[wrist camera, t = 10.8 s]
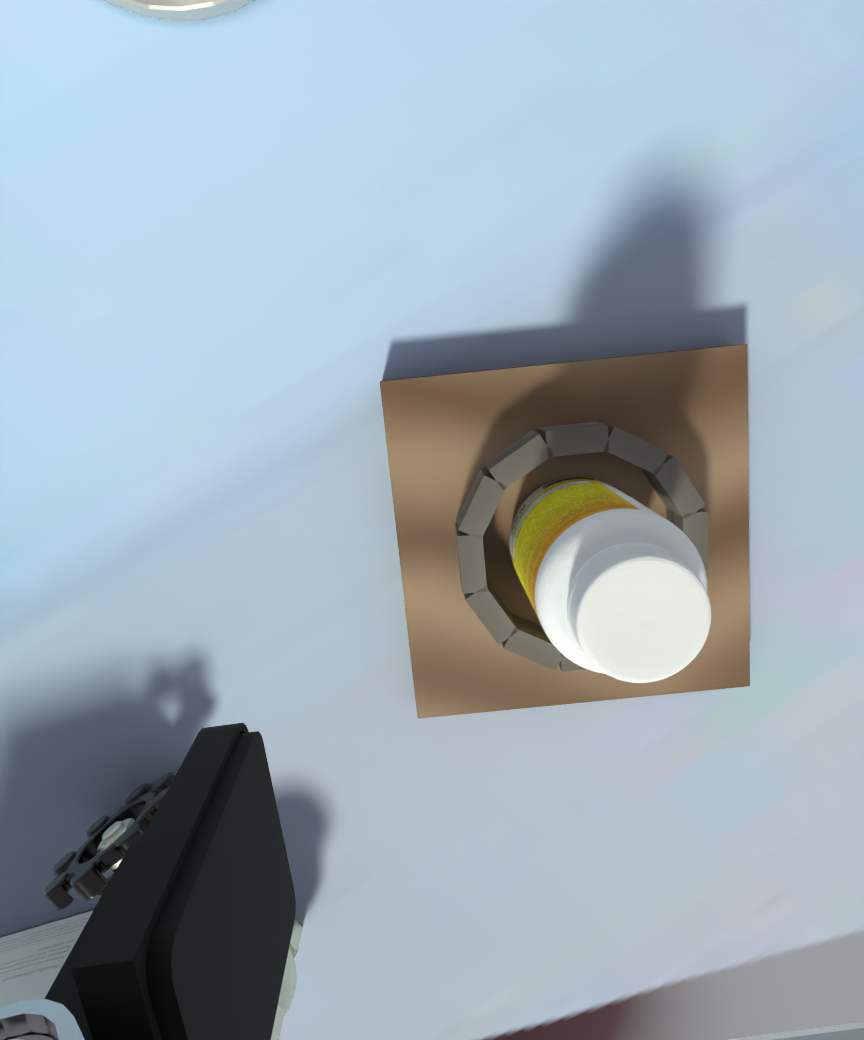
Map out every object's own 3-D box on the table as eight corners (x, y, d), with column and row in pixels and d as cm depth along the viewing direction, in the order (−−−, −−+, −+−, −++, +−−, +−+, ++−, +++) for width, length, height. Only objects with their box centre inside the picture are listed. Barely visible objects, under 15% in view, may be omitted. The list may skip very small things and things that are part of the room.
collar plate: (382, 381, 31) (376, 382, 27) (731, 345, 31) (770, 342, 27) (418, 703, 34) (417, 741, 30) (735, 672, 34) (771, 706, 30)
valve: (342, 924, 36) (193, 749, 34) (325, 1045, 30) (140, 838, 28) (239, 989, 37) (87, 821, 35) (201, 1119, 31) (11, 923, 29)
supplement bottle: (484, 567, 31) (514, 662, 21) (545, 451, 30) (607, 492, 20) (597, 621, 31) (679, 738, 21) (660, 509, 30) (777, 578, 20)
